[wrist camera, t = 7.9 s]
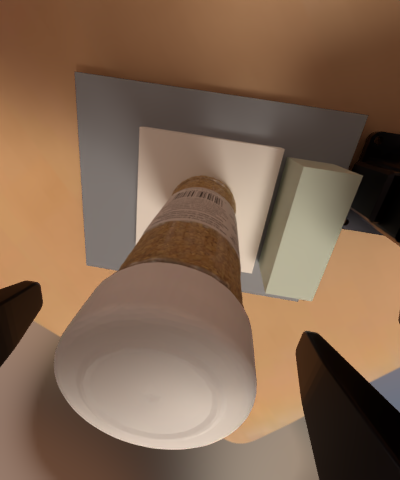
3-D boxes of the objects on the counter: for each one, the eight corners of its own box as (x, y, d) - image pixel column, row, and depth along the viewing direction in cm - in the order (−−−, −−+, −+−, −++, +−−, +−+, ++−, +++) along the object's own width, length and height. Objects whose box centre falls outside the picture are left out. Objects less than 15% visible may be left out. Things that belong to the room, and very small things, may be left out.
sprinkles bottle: (161, 222, 18) (31, 419, 6) (185, 161, 16) (63, 274, 4) (220, 247, 19) (205, 479, 7) (249, 191, 17) (305, 371, 5)
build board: (361, 115, 16) (412, 112, 12) (295, 295, 22) (312, 338, 18) (81, 73, 16) (29, 56, 12) (91, 260, 22) (58, 293, 18)
